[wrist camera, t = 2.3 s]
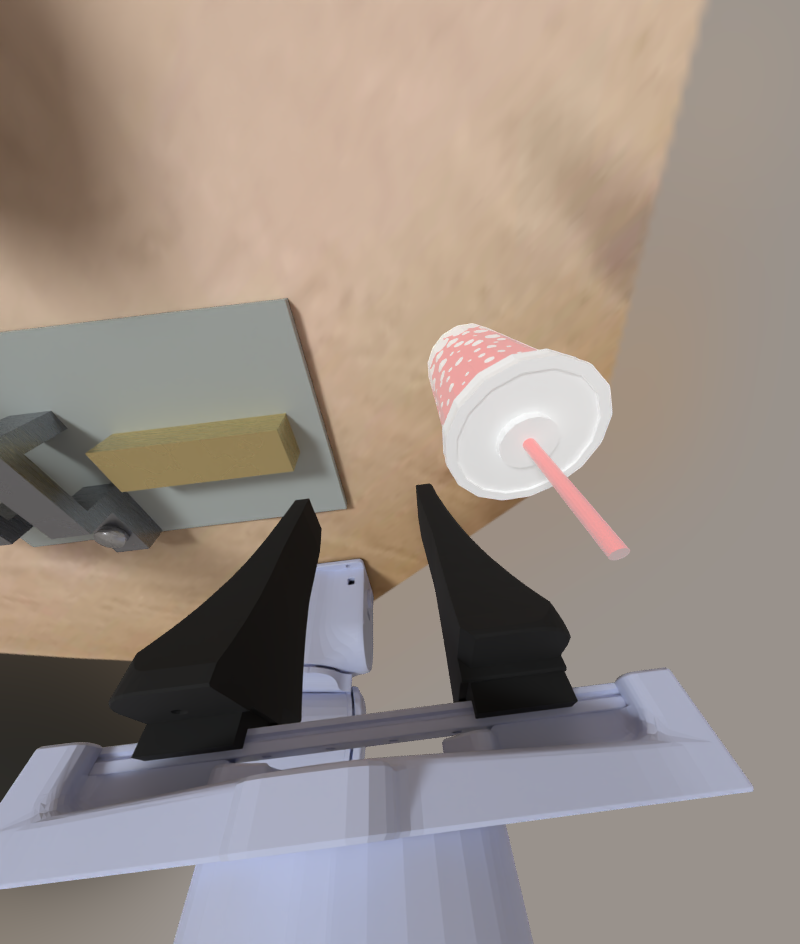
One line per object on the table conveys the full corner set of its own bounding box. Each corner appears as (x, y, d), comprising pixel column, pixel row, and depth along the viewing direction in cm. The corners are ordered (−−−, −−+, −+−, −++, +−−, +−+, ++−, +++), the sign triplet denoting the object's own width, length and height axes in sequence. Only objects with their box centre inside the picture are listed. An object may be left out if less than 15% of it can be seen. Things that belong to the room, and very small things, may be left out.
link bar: (285, 412, 18) (276, 430, 16) (300, 451, 20) (293, 471, 18) (112, 433, 18) (84, 453, 16) (143, 471, 20) (121, 492, 18)
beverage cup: (398, 388, 18) (440, 598, 7) (449, 285, 15) (665, 383, 4) (475, 422, 20) (599, 628, 9) (534, 338, 17) (834, 501, 6)
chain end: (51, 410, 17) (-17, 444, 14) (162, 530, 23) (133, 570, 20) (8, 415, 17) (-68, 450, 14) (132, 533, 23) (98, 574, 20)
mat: (287, 298, 15) (284, 300, 14) (347, 503, 24) (346, 508, 24) (-217, 357, 15) (-236, 361, 14) (40, 541, 24) (33, 547, 23)
